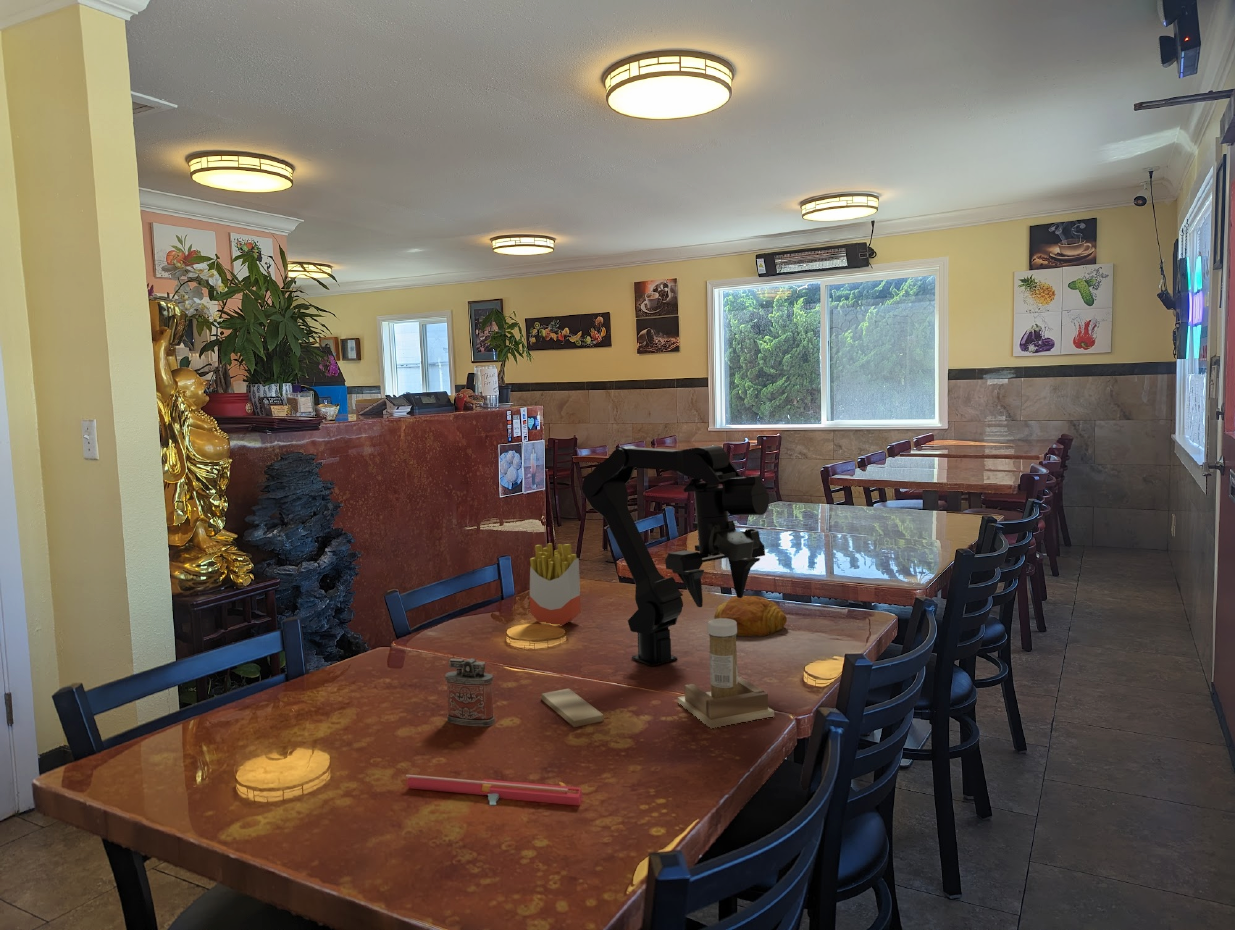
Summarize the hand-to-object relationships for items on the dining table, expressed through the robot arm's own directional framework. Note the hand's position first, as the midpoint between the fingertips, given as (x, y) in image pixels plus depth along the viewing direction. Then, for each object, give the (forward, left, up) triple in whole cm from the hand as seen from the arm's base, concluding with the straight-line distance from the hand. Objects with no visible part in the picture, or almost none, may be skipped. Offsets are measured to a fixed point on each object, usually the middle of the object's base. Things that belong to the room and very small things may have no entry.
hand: (720, 602), depth 150 cm
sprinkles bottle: (+13, -11, -12) cm, 21 cm away
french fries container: (-51, -5, -13) cm, 53 cm away
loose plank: (-3, -30, -14) cm, 33 cm away
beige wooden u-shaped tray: (+13, -11, -13) cm, 22 cm away
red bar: (+17, -54, -14) cm, 58 cm away
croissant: (-19, +24, -14) cm, 34 cm away
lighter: (-9, -45, -13) cm, 48 cm away
